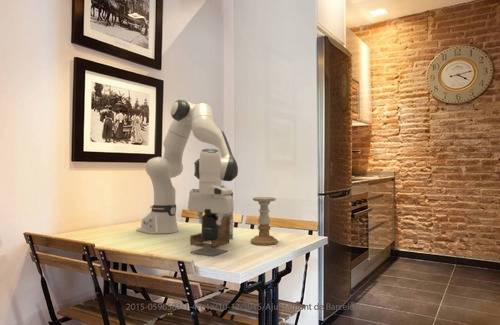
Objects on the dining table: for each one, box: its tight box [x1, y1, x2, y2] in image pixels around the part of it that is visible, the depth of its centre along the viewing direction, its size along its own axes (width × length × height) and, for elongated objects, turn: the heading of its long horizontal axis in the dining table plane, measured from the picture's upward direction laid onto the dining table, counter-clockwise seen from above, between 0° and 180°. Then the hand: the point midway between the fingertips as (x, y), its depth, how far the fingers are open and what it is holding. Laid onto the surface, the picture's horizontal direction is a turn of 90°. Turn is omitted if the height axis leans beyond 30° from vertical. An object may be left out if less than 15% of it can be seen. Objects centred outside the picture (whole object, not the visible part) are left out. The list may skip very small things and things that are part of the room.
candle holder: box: [250, 196, 279, 246], centre depth 164 cm, size 12×12×20 cm
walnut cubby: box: [189, 215, 231, 248], centre depth 160 cm, size 12×12×12 cm
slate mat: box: [190, 247, 228, 257], centre depth 144 cm, size 11×10×1 cm
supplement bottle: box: [200, 209, 219, 240], centre depth 144 cm, size 7×7×12 cm
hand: (210, 224), depth 144 cm, fingers closed on supplement bottle, 6 cm apart
